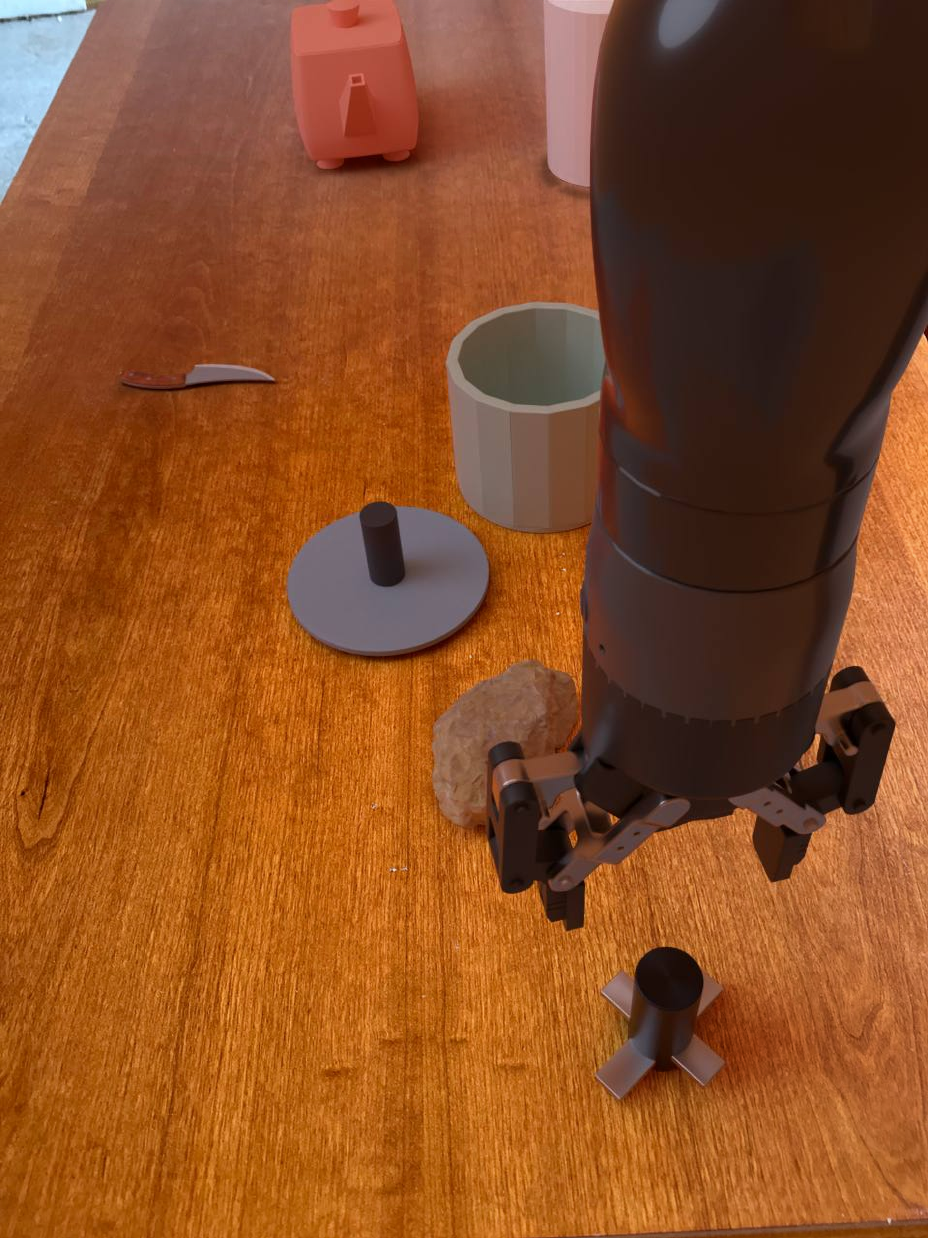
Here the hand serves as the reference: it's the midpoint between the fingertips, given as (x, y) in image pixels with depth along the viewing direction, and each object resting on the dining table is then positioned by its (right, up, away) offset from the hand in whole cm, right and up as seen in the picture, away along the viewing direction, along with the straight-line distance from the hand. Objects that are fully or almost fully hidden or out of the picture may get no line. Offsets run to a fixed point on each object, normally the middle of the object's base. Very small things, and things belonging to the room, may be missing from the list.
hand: (669, 885), depth 46 cm
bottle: (+6, +57, +70) cm, 91 cm away
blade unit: (+1, -10, +9) cm, 14 cm away
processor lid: (-13, +13, +31) cm, 36 cm away
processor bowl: (-3, +21, +38) cm, 44 cm away
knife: (-30, +31, +49) cm, 65 cm away
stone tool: (-6, +2, +21) cm, 22 cm away
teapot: (-19, +61, +76) cm, 99 cm away
